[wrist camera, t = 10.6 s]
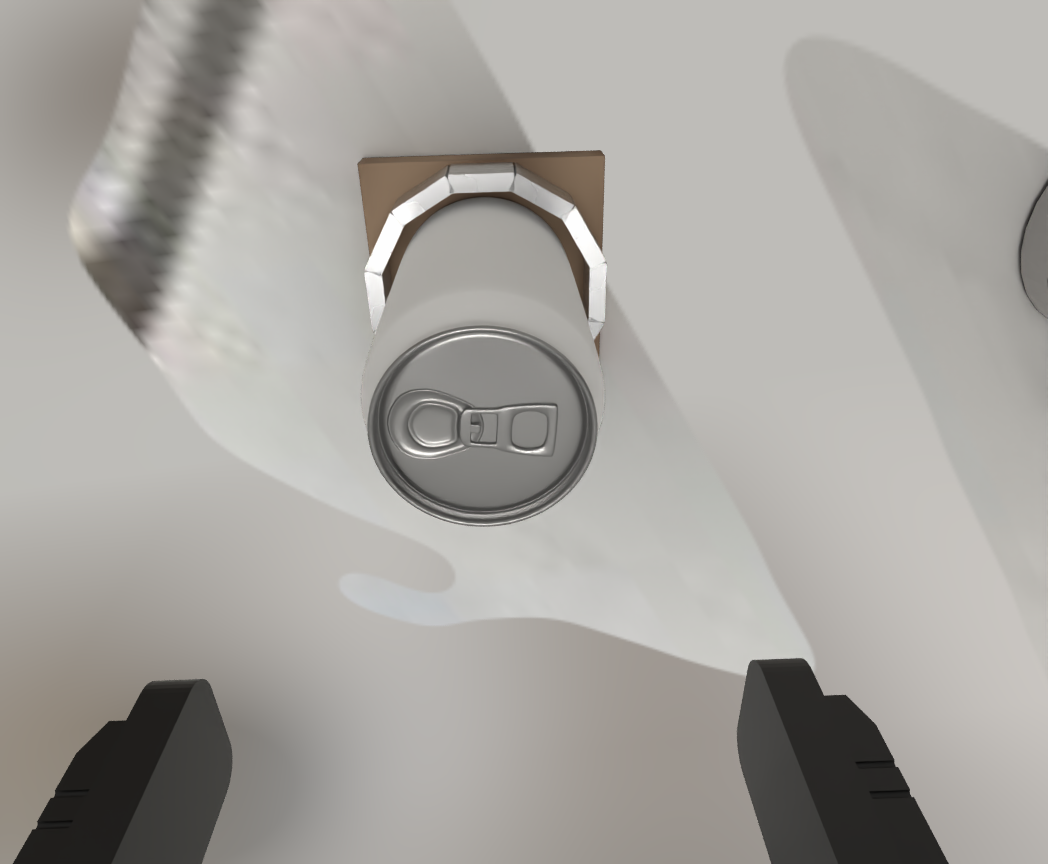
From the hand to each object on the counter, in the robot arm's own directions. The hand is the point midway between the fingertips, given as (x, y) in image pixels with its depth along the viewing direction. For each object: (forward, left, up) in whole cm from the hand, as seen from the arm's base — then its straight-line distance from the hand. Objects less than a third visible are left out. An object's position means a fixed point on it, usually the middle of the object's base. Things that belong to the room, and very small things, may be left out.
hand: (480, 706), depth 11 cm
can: (0, 0, -20) cm, 20 cm away
